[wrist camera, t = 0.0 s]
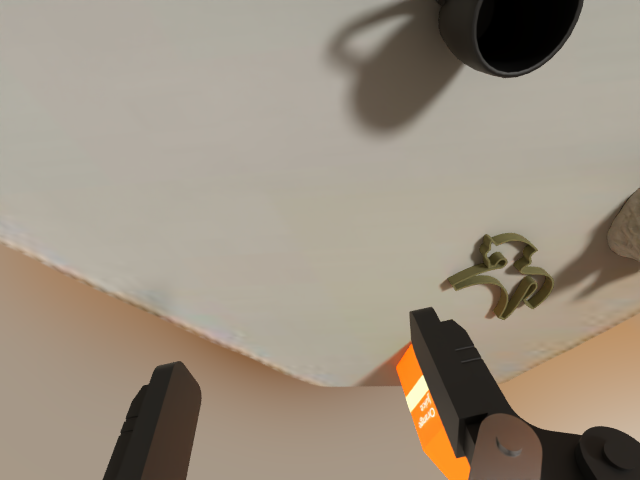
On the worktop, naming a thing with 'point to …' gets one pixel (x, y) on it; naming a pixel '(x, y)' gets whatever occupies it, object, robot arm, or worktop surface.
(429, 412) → the orange juice
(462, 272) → the cookie cutter
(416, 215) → the worktop surface
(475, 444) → the robot arm
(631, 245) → the sand castle
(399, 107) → the worktop surface
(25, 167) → the worktop surface
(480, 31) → the mug
